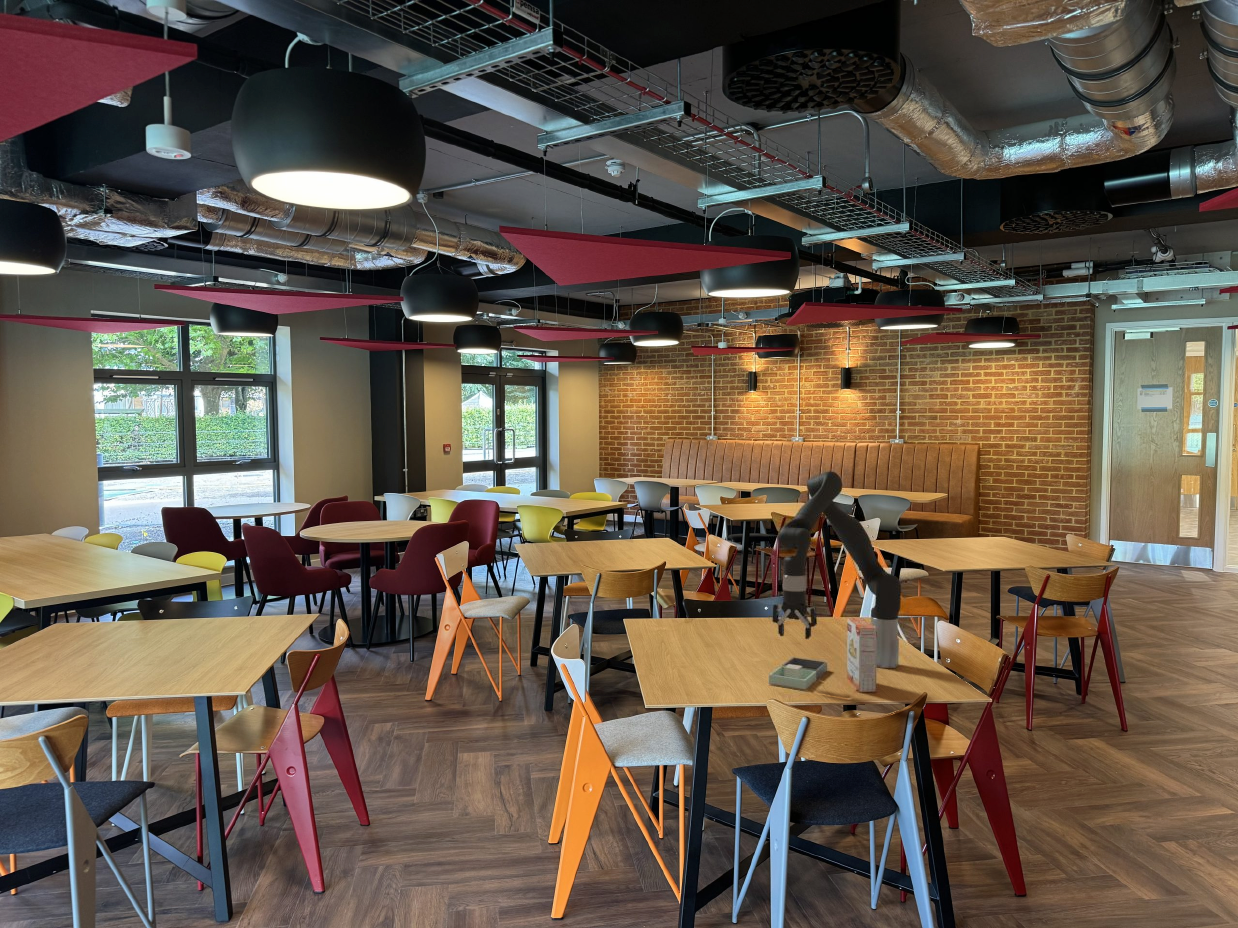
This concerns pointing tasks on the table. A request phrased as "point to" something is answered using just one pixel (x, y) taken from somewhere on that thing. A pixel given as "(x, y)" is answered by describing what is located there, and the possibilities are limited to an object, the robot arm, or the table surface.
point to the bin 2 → (809, 665)
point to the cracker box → (861, 654)
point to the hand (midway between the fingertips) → (794, 637)
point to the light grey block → (793, 671)
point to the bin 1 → (792, 679)
